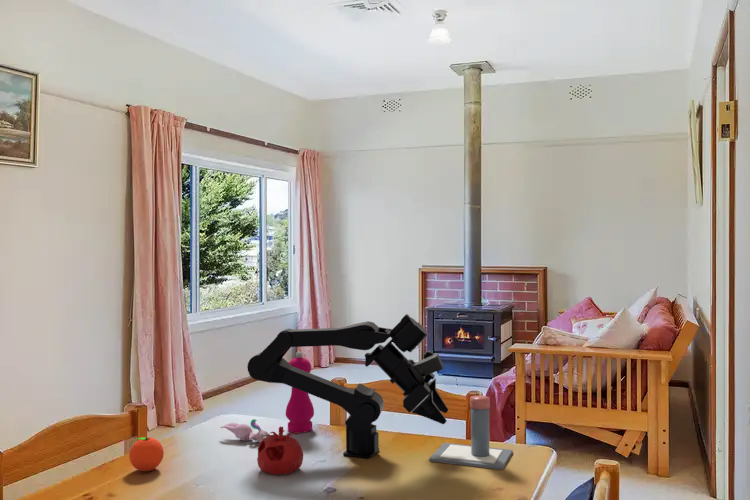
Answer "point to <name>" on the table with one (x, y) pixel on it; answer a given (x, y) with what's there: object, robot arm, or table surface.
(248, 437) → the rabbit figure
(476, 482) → the table surface
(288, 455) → the red round fruit
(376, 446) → the robot arm
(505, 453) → the writing board
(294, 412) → the pepper mill
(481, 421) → the cylinder
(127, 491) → the table surface
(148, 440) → the clementine
